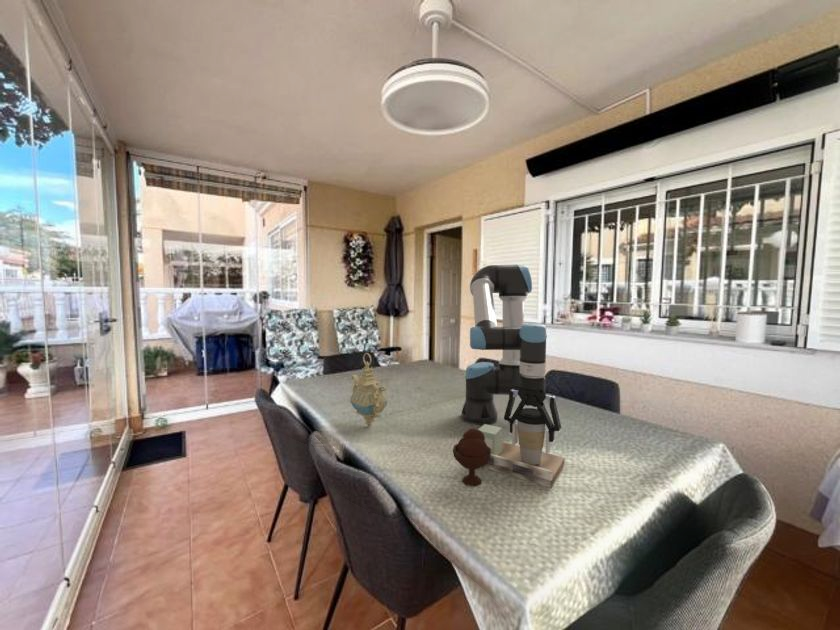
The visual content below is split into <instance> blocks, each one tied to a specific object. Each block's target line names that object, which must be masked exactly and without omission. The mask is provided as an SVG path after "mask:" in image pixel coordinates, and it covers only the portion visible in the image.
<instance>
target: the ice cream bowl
mask: <svg viewBox="0 0 840 630" xmlns="http://www.w3.org/2000/svg"><path fill="white" fill-rule="evenodd" d="M478 429H479V428H469V429H468V430H467V431H465V432H464V433H463V436H462V438H460V439H459V440H458V443H456V444H455V445H453V448H452V453H453V457H454V459H455V460H456V461H457V463H459V465H461V466H462V467H463V468H464V469H467V470H468V474H467V475H464V476H463V477H462V481H461V482H462V483H463V484H464V485H465V486H468V487H478V486H480V485H481V484H482V479H481V477H479V475H476V470H479V469H481V468H484V467H483V466H484V465H486V464H487V463H488V461H489V459H490V455H491V448H489V447H488V446H487V444H486V443H485V437H484V434H483V433H482V432H481V431H480V430H478Z"/></svg>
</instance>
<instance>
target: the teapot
mask: <svg viewBox="0 0 840 630" xmlns="http://www.w3.org/2000/svg"><path fill="white" fill-rule="evenodd" d="M366 355H368V357H369V361H368V360H367V361H366V360H365V356H366ZM372 360H373V359H372V356H371V354H369V353H368V352H365V353H364V354H363V356H362V361H363V364H364V367H361V370H362V373H360V374H361V376H360V379H359V376H358V375H357V374H352V375H351V380H354V384H353V388H352V394H351V396H350V400H349V401H350V404H351V406H352V407H353V408H354V409H355V410H356V411H355V413H356V414H357V415H360V416H362V417H363V419H364V420H365V424H366V426H367V427H368V426H369V427H368V428H370V427H373V424H372V423H373V422H374V420H375V419H377V418H380V417H381V414H382V412H383V411H384V409H385V408H386V407H387V405H388V399H387V396H386V395H385V393H383V392H385V391H387V387H386V385H381V386H379V387H378V385H380V384H381V382H380V381H378V380H376V377H375V376H374V375H375V373H373V372H374V371H373V366H371V364H372ZM370 366H371V367H370Z"/></svg>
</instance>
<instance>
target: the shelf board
mask: <svg viewBox="0 0 840 630" xmlns="http://www.w3.org/2000/svg"><path fill="white" fill-rule="evenodd" d="M565 460H566V458H565V457H563V456H558V455H555V454H551V453H546V452H543V451H542V455H541V462H540V463H539V464H537V465H531V464H527V463H524V462H523V461H522V460H521V454H520V445H516V444H515V445H512V443H508V442H505V441H504V442H503V441H502V452H501V453H500V454H499V455H494V454H491V455H490V459H489V461H488V463H487V464H486V465H484V466H483V467H482V468H484V469H488V470H491V471H495V472H498V473H501V474H504V475H508V476H510V477H515V478H516V479H517V478H518V479H521V480H524V481H528V482H531V483H534V484H537V485H540V486H544V487H548V488H551V489H552V487H553V485H554V483H555V481H556V480H557V478H558V476H559V474H560V473H561V471H562V469H563V467H564V466H565V464H566V461H565Z"/></svg>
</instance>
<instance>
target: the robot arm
mask: <svg viewBox="0 0 840 630" xmlns="http://www.w3.org/2000/svg"><path fill="white" fill-rule="evenodd" d="M469 290H470V293H471V295H472V298H473V299H472V301H473V315H474V317H473V319H474V326H472V327H470V329H469V347H470V348H471V349H472V350H478V351H479V350H481V351H486V350H487V351H502V358H501V359H500V360H498V366H495V365H494V363H493V362H487V361H481V362H480V361H479V362H475V363H472V364H468V366H466V368H465V376H464V378H465V400H464V404H463V406H462V409H461V419H462V420H463V421H464V422H465V423H466V422H467V423H470V424H474V425H484V424H487V425H490V424H493V423H496V422H497V421H498V419H499V418H498V411H497V408H496V405H495V402H494V395H496V396H497V395H499V396H500V395H504V396H508V400H507V405H506V409H505V412H504V415H503V419H504V421H507V422H508V423H509V433H510V434H512V435H511V436H512V438H511V441H512V443H511V444H512V445H516V444H517V443H519V439H518V428H517V427H518V422H517V419H516V415H518V411H521V410H522V409H523V408H525V406H527V407H529V406H530V407H532V408H536V409H538V410H539V411H540V413H541V416H543V419H544V420H545V422H546V423H545V427H546V429H547V430H545V453H548V454H550V452H551V450H552V448H551V446H552V445H551V443H553V442H554V440H555V432H559V431H560V430H561V429H562V424H561V419H560V416H559V411H558V407H557V404H556V403H557V396H556V395H549V394H547V393H546V375H547V374H546V370H547V369H546V368H547V367H546V363H547V361H546V359H547V356H546V355H547V338H548V335H547V328H546V325H544V324H542V323H541V324H540V323H524V322H525V320H524V318H525V315H524V312H525V310H524V307H525V301H526V299H528V297H529V296H528V294H530V293H532V291H533V279H532V274H531V271H530V268H529V267H528V266H527V265H525V264H517V263H516V264H491V265H487V266H486V265H485V266H483V267H482V268H480V269H479V270H478V271H477V272H476V273H475V274H473V276H472V278H471V281H470V284H469ZM493 293H495V294H498V298H499V299H500V300H501V302H502V326H498V323H497V316H496V311H495V310H496V308H495V301H494V296H493V295H494V294H493ZM517 397H519V398H520V399H521V400H520V401H519V404H518V406H517V407H516V408H515V411H514V412H513V408H514V405H515V400H516V398H517ZM545 400H546V401H547V403H548V404H549V409H550V413H551V416H550V414H549V412H548V411H547V408H546V405H545V403H544V401H545ZM512 412H513V414H512ZM511 414H512V415H511Z"/></svg>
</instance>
